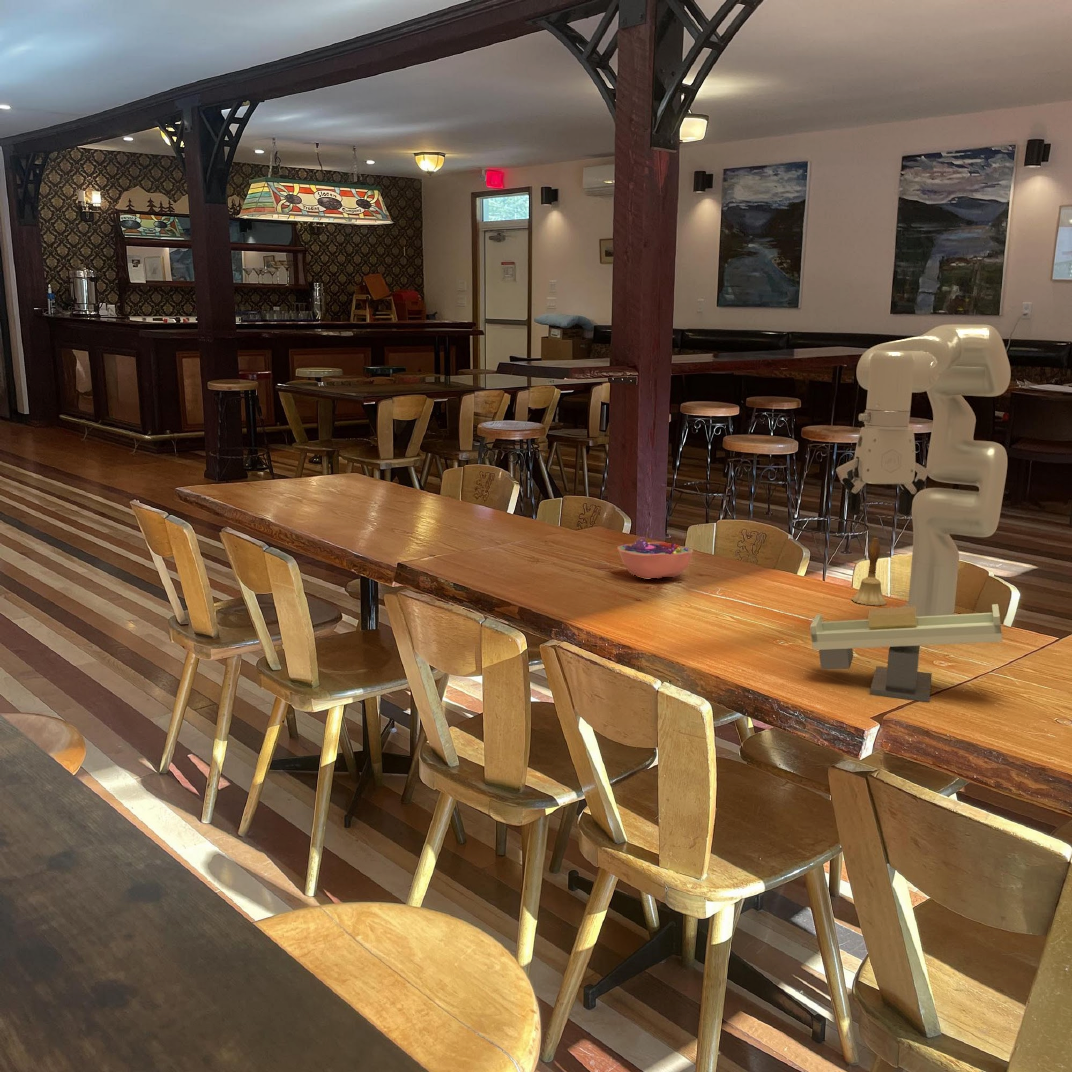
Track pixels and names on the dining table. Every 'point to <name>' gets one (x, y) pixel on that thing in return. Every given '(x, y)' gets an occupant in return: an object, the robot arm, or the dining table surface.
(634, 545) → the cell model
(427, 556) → the dining table surface
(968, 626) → the balance beam
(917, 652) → the pivot stand
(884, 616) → the block
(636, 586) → the dining table surface
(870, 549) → the hand bell
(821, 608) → the dining table surface
